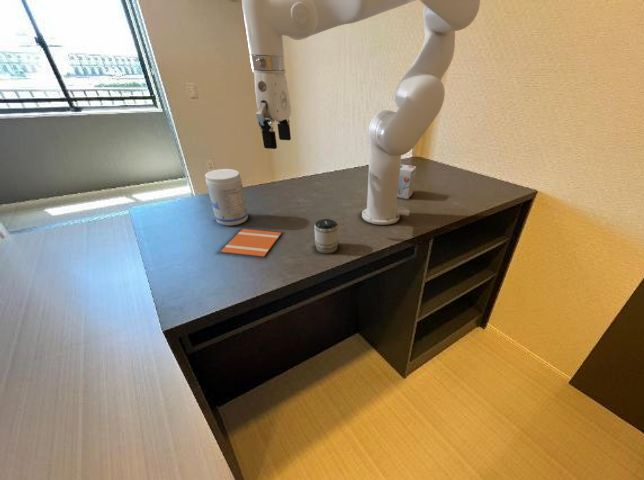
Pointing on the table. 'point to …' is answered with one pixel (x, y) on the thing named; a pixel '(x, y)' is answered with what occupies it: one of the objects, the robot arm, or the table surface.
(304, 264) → the table surface
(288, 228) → the table surface
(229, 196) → the supplement tub
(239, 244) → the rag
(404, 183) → the light bulb box
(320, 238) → the camera lens
